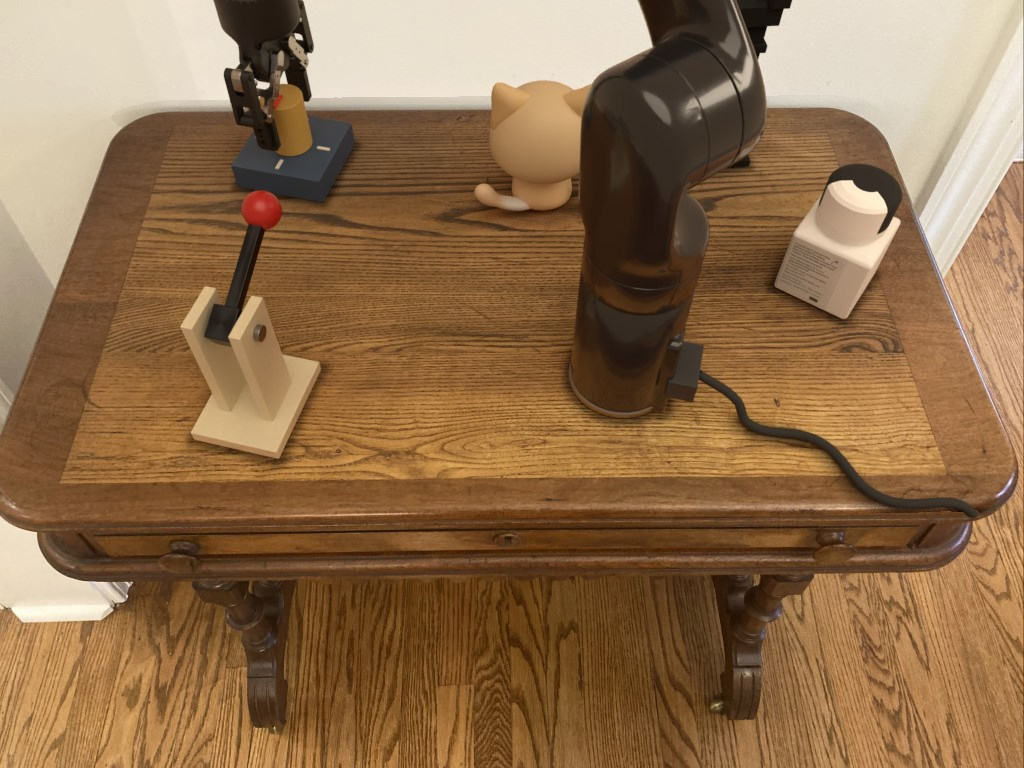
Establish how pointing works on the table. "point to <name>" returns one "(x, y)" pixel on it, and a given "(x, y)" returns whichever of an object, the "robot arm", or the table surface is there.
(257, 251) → the red knob lever
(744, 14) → the chess piece
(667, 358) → the robot arm
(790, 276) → the container
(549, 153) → the kitten
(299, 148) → the dial
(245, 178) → the panel
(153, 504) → the table surface
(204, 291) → the lever stand
